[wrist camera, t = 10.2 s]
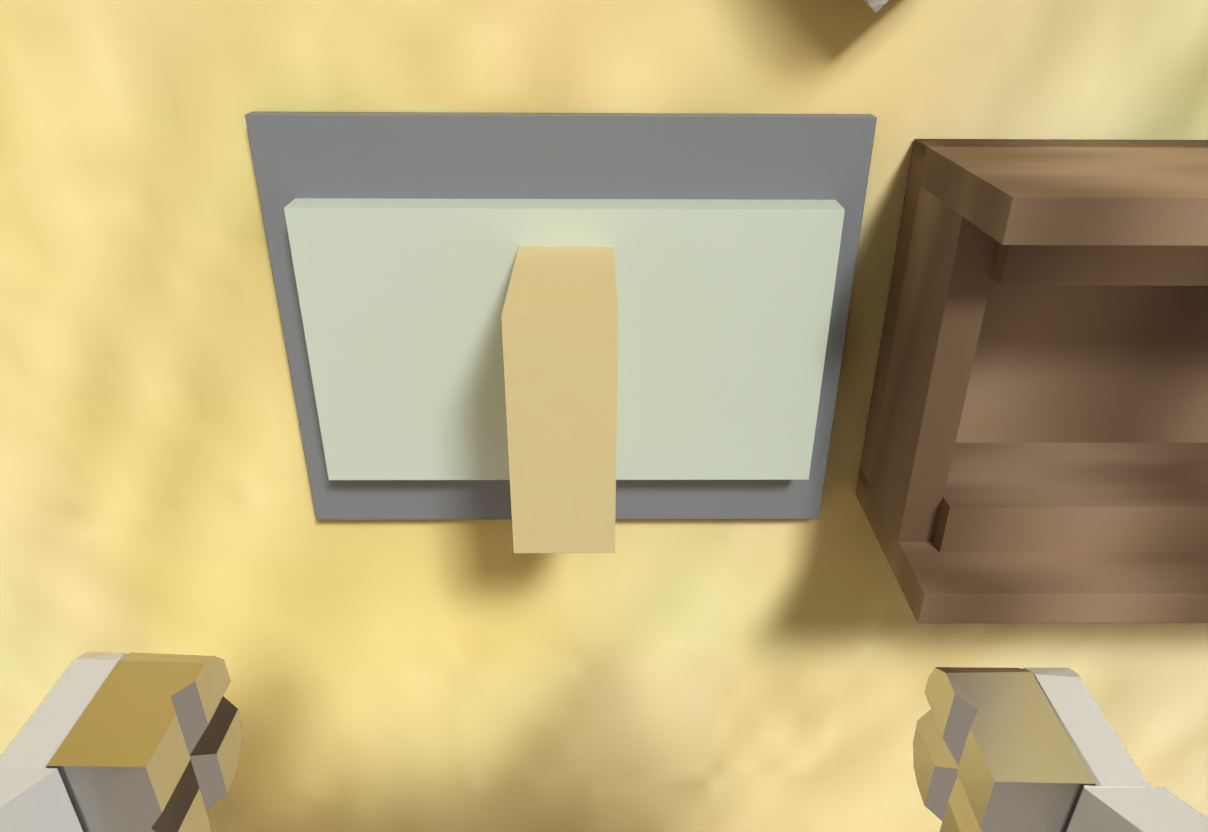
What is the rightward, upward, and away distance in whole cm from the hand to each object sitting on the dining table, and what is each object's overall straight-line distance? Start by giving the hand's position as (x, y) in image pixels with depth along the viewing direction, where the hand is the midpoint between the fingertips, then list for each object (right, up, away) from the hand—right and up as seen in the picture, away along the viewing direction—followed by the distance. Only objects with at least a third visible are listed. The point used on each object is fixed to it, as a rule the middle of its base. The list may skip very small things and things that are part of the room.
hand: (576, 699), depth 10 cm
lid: (-1, +5, +10) cm, 11 cm away
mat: (-1, +5, +11) cm, 12 cm away
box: (+14, +5, +11) cm, 18 cm away
